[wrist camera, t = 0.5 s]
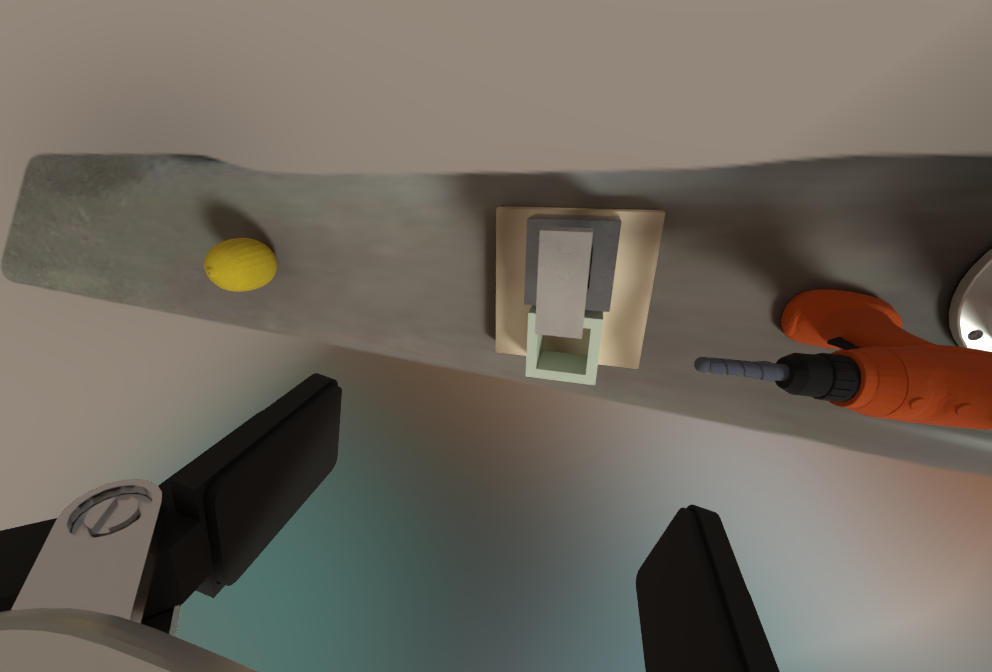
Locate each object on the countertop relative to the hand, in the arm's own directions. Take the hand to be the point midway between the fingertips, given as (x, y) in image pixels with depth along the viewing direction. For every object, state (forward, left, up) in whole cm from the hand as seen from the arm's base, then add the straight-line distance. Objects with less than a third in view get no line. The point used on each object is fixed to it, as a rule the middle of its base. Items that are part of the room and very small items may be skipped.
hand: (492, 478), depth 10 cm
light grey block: (-1, 0, -27) cm, 26 cm away
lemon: (+29, -19, -29) cm, 45 cm away
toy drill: (-12, +13, -29) cm, 34 cm away
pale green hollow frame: (+4, +5, -27) cm, 27 cm away
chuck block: (-1, 0, -27) cm, 26 cm away
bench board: (+1, +2, -29) cm, 29 cm away
